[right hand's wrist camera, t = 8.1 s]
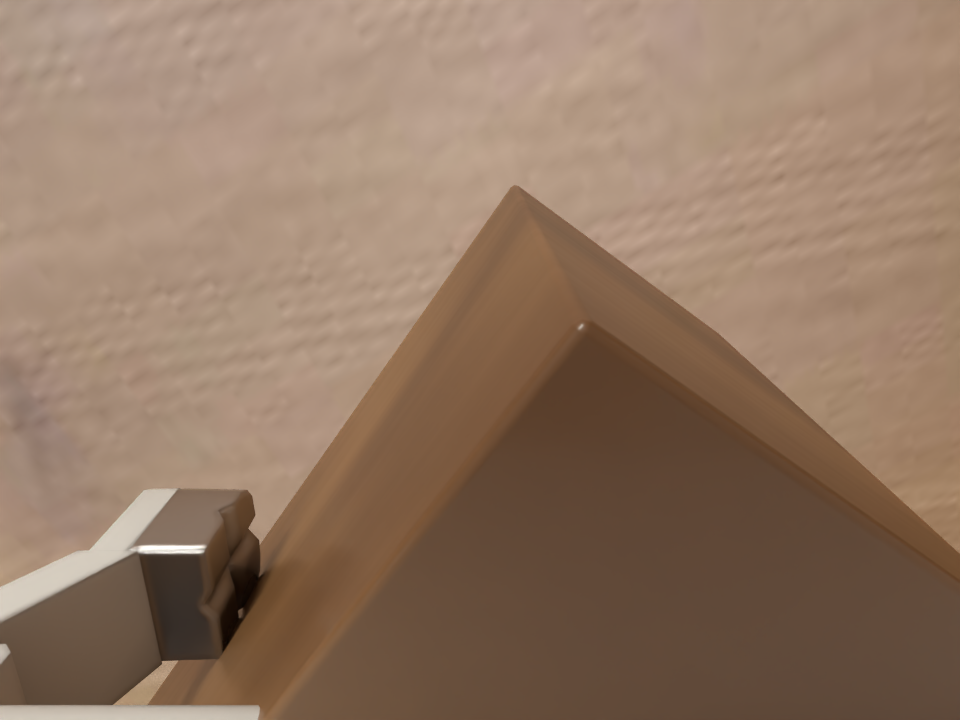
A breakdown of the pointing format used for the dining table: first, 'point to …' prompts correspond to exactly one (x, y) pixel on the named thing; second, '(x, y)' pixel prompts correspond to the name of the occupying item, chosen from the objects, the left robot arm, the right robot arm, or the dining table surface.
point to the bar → (585, 527)
